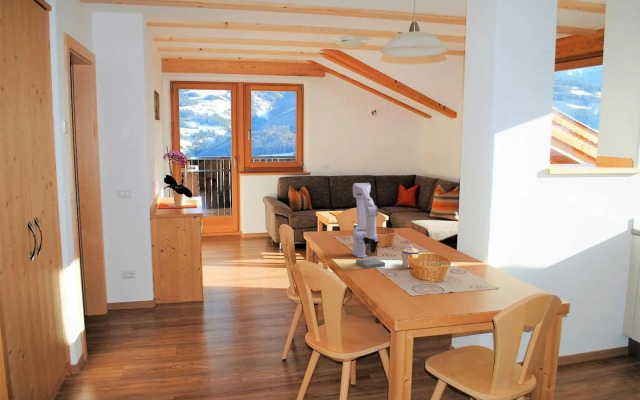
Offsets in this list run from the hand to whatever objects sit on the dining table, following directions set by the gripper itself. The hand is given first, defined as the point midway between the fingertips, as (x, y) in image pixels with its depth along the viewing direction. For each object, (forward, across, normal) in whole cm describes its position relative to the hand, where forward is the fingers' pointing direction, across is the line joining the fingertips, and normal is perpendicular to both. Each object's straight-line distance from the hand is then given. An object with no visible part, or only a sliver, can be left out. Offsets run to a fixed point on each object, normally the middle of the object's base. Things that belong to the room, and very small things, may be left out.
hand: (370, 251), depth 277 cm
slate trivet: (+8, 0, 0) cm, 8 cm away
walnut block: (+2, 0, 0) cm, 2 cm away
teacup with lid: (+8, -10, -19) cm, 23 cm away
